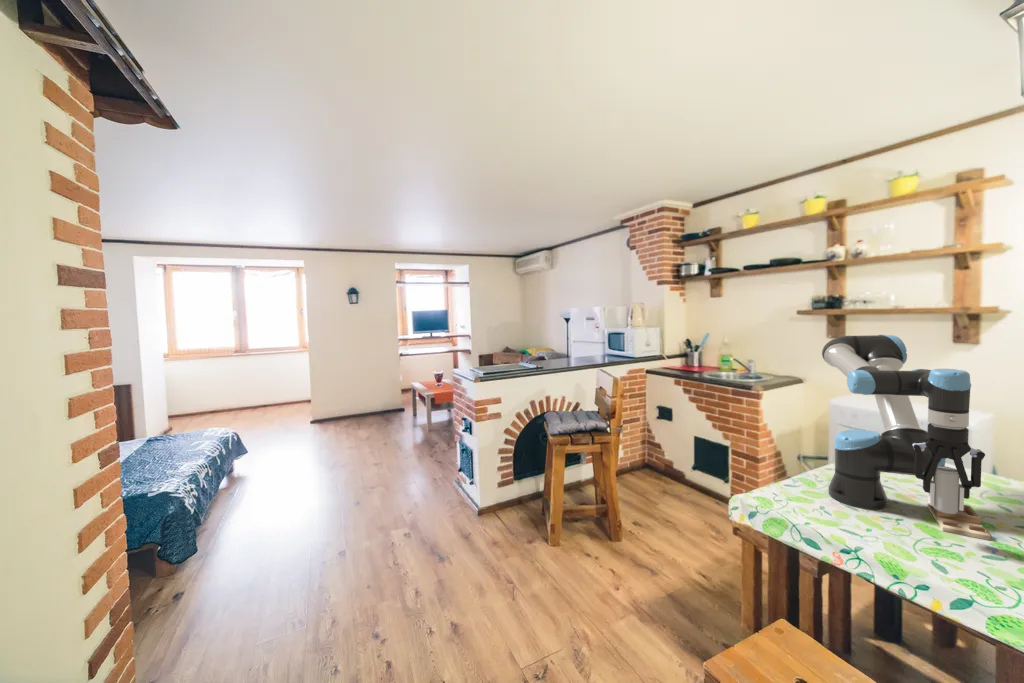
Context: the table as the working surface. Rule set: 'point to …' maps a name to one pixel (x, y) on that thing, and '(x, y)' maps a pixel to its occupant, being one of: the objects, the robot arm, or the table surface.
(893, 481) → the table surface
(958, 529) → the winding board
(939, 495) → the beverage can
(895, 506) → the table surface
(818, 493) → the table surface
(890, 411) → the robot arm
